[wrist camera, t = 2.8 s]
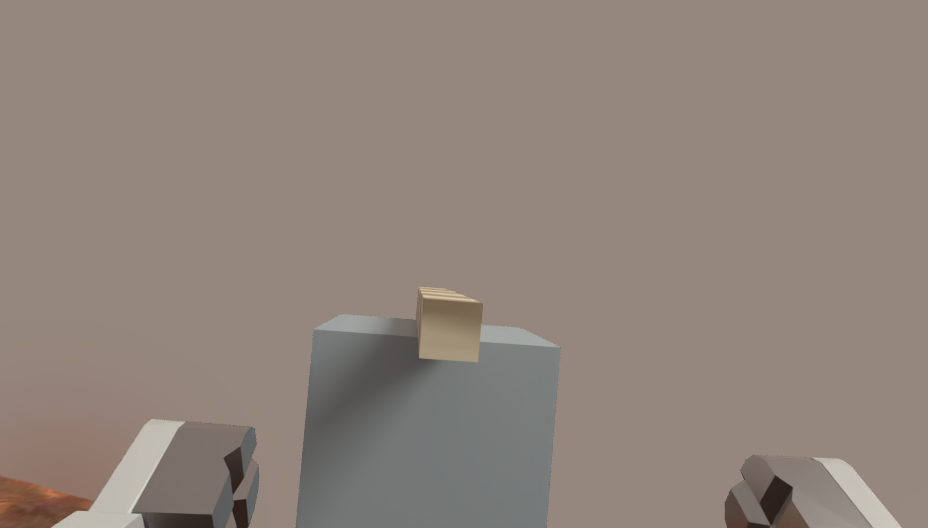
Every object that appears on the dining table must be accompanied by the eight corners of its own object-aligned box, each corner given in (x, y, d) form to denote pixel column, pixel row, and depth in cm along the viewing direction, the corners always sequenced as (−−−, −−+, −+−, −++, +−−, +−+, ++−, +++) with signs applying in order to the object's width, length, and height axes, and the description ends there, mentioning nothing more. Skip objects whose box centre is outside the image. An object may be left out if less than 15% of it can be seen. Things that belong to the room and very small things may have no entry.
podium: (524, 809, 31) (560, 347, 32) (270, 810, 30) (313, 329, 31) (493, 661, 43) (520, 327, 44) (310, 657, 42) (341, 314, 43)
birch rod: (478, 362, 23) (483, 303, 23) (418, 358, 23) (424, 298, 23) (445, 318, 47) (447, 289, 47) (415, 316, 47) (418, 286, 47)
